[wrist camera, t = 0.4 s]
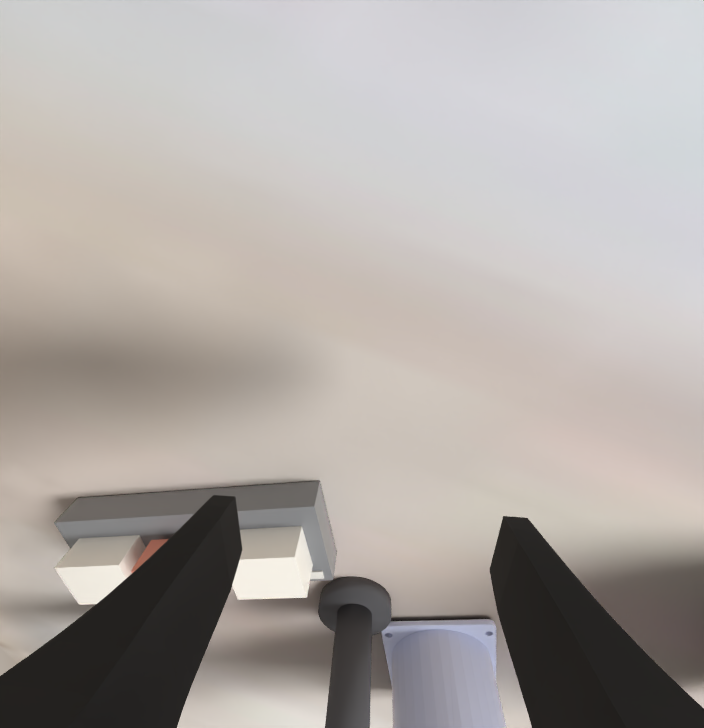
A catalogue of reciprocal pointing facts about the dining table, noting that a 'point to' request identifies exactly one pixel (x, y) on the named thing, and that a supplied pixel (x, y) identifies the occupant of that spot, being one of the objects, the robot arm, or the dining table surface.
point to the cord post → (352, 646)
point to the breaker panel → (173, 509)
